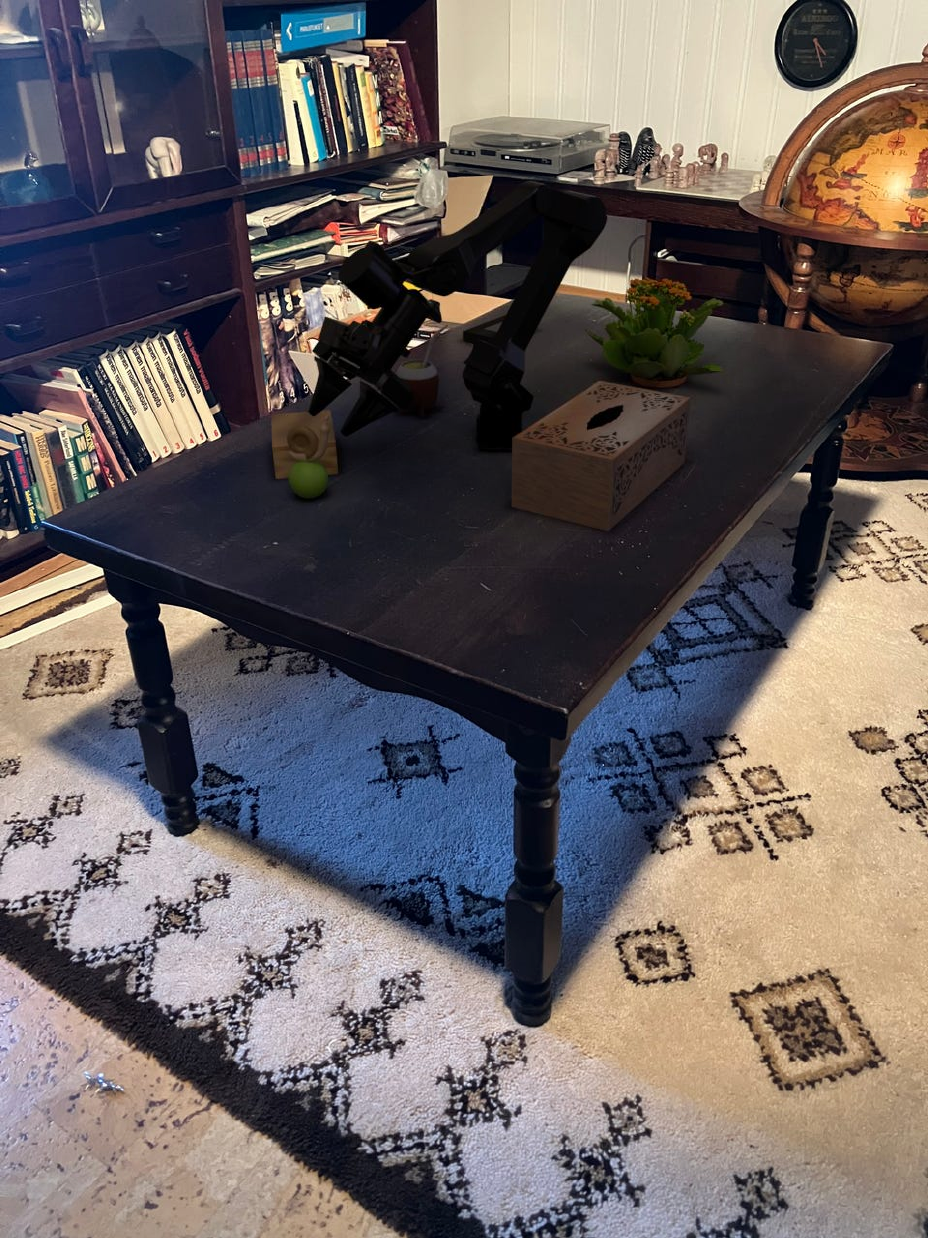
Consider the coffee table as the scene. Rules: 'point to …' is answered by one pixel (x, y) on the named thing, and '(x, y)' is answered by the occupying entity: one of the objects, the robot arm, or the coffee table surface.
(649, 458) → the tissue box cover
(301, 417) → the tan rectangular block
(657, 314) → the potted flower
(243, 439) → the coffee table surface
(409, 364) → the mate gourd
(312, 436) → the snail figurine
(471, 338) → the vhs tape
